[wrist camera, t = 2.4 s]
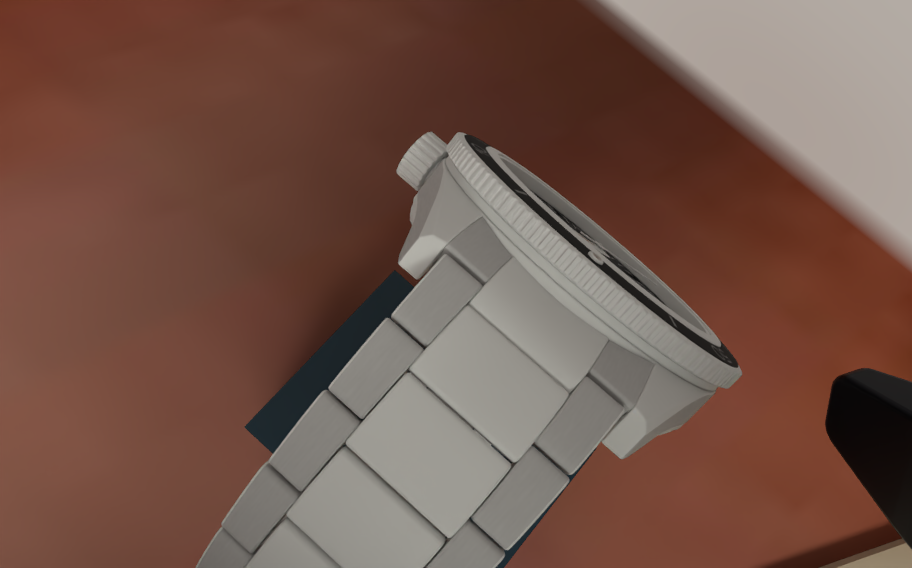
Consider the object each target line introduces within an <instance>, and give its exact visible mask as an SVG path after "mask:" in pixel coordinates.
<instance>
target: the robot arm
mask: <svg viewBox="0 0 912 568" xmlns="http://www.w3.org/2000/svg"><path fill="white" fill-rule="evenodd" d="M825 426H826V431H827V434H828V436H829V438H830V440H831V442H832V443H833V445H834V446H835V447H836V449H837V450H838V452H839V453H840V454H841V456H842V457H843V458H844V460H845V461H846V463H847V464H848V465H849V467H850V468H851V469H852V471H853V472H854V474H855V475H856V476H857V478H858V479H859V480H860V482H861V483H862V485H863V486H864V487H865V489H866V490H867V491H868V493H869V494H870V496H871V497H872V498H873V500H874V501H875V502H876V504H877V505H878V507H879V508H880V509H881V511H882V512H883V513H884V515H885V516H886V518H887V519H888V520H889V522H890V523H891V524H892V526H893V527H894V528H895V530H896V531H897V532H898V533H899V535H900V536H901V537H902V539H903V540H904V541H905V542H906V543H907V545H908V546H909V547H910V548H911V549H912V382H910V381H907V380H904V379H901V378H898V377H895V376H892V375H888V374H885V373H882V372H879V371H876V370H873V369H869V368H861V369H857V370H854V371H851V372H848V373H845V374H842V375H840V376H838V377H837V378H836V379H835V380H834V381H833V384H832V388H831V393H830V398H829V404H828V409H827V415H826V420H825Z"/></svg>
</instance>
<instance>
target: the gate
mask: <svg viewBox="0 0 912 568" xmlns="http://www.w3.org/2000/svg"><path fill="white" fill-rule="evenodd" d="M819 568H912V549H911V548H910V547H909V546H908V545H907V543H906V542H905V541H904V540H903V539H899V540H896V541H893V542H890V543H887V544H885V545H882V546H879V547H876V548H873V549H870V550H868V551H865V552H862V553H859V554H856V555H853V556H851V557H848V558H845V559H842V560H839V561H836V562H833V563H831V564H828V565H825V566H822V567H819Z"/></svg>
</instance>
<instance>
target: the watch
mask: <svg viewBox="0 0 912 568" xmlns="http://www.w3.org/2000/svg"><path fill="white" fill-rule="evenodd" d="M397 174H398V175H399V176H400V177H401V178H402V179H404V180H405V181H406V182H407V183H408V184H409V185H411V186H412V187H413V188H414V189H415V190H417V191H418V193H417V194H416V196H415V197H414V199H413V205H412V207H411V212H410V222H411V224H412V227H411V229H410V232H409V234H408V236H407V238H406V241H405V243H404V245H403V248H402V250H401V252H400V254H399V260H398V264H399V265H400V266H401V267H402V268H403V269H405V270H406V271H407V272H408V273H409V274H410V275H411V276H413V277H414V278H415V279H416V280H418V279H420V278H421V277H422V276H423V275H425V274H426V273H427V272H428V271H429V272H428V273H427V274H426V275H425V276H424V277H423V278H422V280H421V281H420V282H419V283H418V284H417V285H416V286H415V287H413V286H412V285H411V284H410V283H409V282H408V281H407V280H405V279H404V278H403V277H402V276H401V275H400V274H399V273H397V272H396V271H395V270H394V271H393V272H392V273H391V275H390V276H389V277H388V278H387V279H386V280H385V281H384V282H383V283H382V284H381V285H380V286H379V287H378V288H377V289H376V290H375V291H374V292H373V293H372V294H371V295H370V296H369V297H368V299H367V300H366V301H365V302H364V303H363V304H362V305H361V306H360V307H359V308H358V309H357V310H356V311H355V312H354V313H353V314H352V315H351V316H350V317H349V318H348V319H347V320H346V321H345V323H344V324H343V325H342V326H341V327H340V328H339V329H338V330H337V331H336V332H335V333H334V334H333V335H332V336H331V337H330V338H329V339H328V340H327V341H326V342H325V343H324V344H323V345H322V347H321V348H320V349H319V350H318V351H317V352H316V353H315V354H314V355H313V356H312V357H311V358H310V359H309V360H308V361H307V362H306V363H305V364H304V365H303V366H302V367H301V368H300V369H299V371H298V372H297V373H296V374H295V375H294V376H293V377H292V378H291V379H290V380H289V381H288V382H287V383H286V384H285V385H284V386H283V387H282V388H281V389H280V390H279V391H278V392H277V393H276V395H275V396H274V397H273V398H272V399H271V400H270V401H269V402H268V403H267V404H266V405H265V406H264V407H263V408H262V409H261V410H260V411H259V412H258V413H257V414H256V415H255V416H254V417H253V419H252V420H251V421H250V422H249V423H248V424H247V425H246V426H245V428H246V429H247V430H248V431H249V432H250V433H251V434H252V435H253V436H254V437H256V438H257V439H258V440H259V441H260V442H261V443H262V444H263V445H264V446H265V447H266V448H267V449H268V450H270V451H271V452H272V453H273V455H272V456H271V458H270V459H269V461H267V462H266V463H265V464H264V465H263V466H262V467H261V468H260V469H259V470H258V472H257V473H256V474H255V476H254V477H253V478H252V480H251V481H250V483H249V484H248V485H247V487H246V488H245V489H244V491H243V492H242V494H241V495H240V497H239V498H238V499H237V501H236V502H235V504H234V505H233V507H232V508H231V510H230V511H229V512H228V514H227V515H226V517H225V518H224V520H223V521H222V527H221V528H220V529H219V530H218V532H217V533H216V534H215V536H214V537H213V539H212V540H211V542H210V544H209V545H208V547H207V548H206V550H205V552H204V553H203V555H202V557H201V558H200V560H199V562H198V564H197V566H196V568H504V567H505V565H506V564H507V563H508V562H509V560H510V559H511V558H512V556H513V555H514V554H515V553H516V551H517V550H518V549H519V547H520V546H521V545H522V544H523V542H524V541H525V540H526V538H527V537H528V536H529V535H530V533H531V532H532V531H533V529H534V528H535V527H536V526H537V524H538V523H539V522H540V520H541V519H542V518H543V517H544V515H545V514H546V513H547V511H548V510H549V509H550V508H551V506H552V505H553V504H554V502H555V501H556V500H557V499H558V497H559V496H560V495H561V493H562V492H563V491H564V489H565V488H566V487H567V486H568V484H569V483H570V482H571V480H572V479H573V478H574V477H575V475H576V474H577V473H578V471H579V470H580V469H581V468H582V466H583V465H584V464H585V462H586V461H587V460H588V459H589V457H590V456H591V455H592V453H593V452H594V451H595V450H596V448H597V446H598V444H599V443H600V442H601V441H602V443H603V444H604V445H605V446H606V447H607V448H609V449H610V450H611V451H612V452H613V453H614V454H615V455H617V456H618V457H619V458H620V459H624V458H626V457H628V456H630V455H631V454H633V453H634V452H636V451H637V450H638V449H640V448H641V447H643V446H644V445H645V444H647V443H648V442H649V441H651V440H652V439H653V438H655V437H656V436H658V435H662V434H665V433H668V432H671V431H672V430H677V429H679V428H680V427H681V426H682V425H683V424H684V423H686V422H687V421H688V420H689V419H690V418H691V417H692V416H693V415H694V414H695V413H696V412H697V411H698V410H699V409H700V408H701V407H702V406H703V405H704V404H705V403H706V402H707V401H708V400H709V399H710V398H711V397H712V396H713V395H714V394H715V392H716V388H717V387H718V386H719V387H721V388H730V387H731V386H732V385H733V384H734V383H735V382H736V381H737V380H738V379H739V378H740V377H741V376H742V371H741V369H740V367H739V365H738V363H737V361H736V359H735V358H734V357H733V355H732V354H731V353H730V351H729V350H728V349H727V348H726V347H725V346H724V344H723V343H722V342H721V341H720V340H719V339H718V337H717V336H716V335H715V334H714V332H713V331H712V330H711V329H710V328H709V327H708V326H707V325H706V324H705V323H704V321H703V320H702V319H701V318H700V317H699V316H698V315H697V314H696V313H695V312H694V311H693V310H692V309H691V308H690V307H689V306H688V305H687V304H686V303H685V302H684V301H683V300H682V299H681V298H680V297H679V296H678V295H677V294H676V293H675V292H674V291H672V290H671V289H670V288H669V287H668V286H667V285H666V284H665V283H664V282H663V281H662V280H661V279H660V278H658V277H657V276H656V275H655V274H654V273H653V272H652V271H651V270H650V269H648V268H647V267H646V266H645V265H644V264H643V263H642V262H641V261H639V260H638V259H637V258H636V257H635V256H634V255H633V254H631V253H630V252H629V251H628V250H627V249H626V248H625V247H623V246H622V245H621V244H620V243H619V242H618V241H616V240H615V239H614V238H613V237H612V236H611V235H609V234H608V233H607V232H606V231H605V230H603V229H602V228H601V227H600V226H599V225H597V224H596V223H595V222H594V221H593V220H591V219H590V218H589V217H588V216H587V215H585V214H584V213H583V212H582V211H580V210H579V209H578V208H577V207H575V206H574V205H573V204H572V203H570V202H569V201H568V200H567V199H565V198H564V197H563V196H562V195H560V194H559V193H558V192H557V191H555V190H554V189H553V188H551V187H550V186H549V185H547V184H546V183H545V182H544V181H542V180H541V179H540V178H538V177H537V176H535V175H534V174H533V173H531V172H530V171H529V170H527V169H526V168H524V167H523V166H521V165H520V164H519V163H517V162H516V161H514V160H513V159H511V158H509V157H508V156H506V155H505V154H503V153H502V152H500V151H498V150H496V149H495V148H493V147H491V146H489V145H488V144H486V143H485V142H483V141H481V140H479V139H478V138H476V137H474V136H471V135H468V134H465V133H461V132H458V133H456V135H455V136H454V137H453V139H452V140H451V141H450V142H449V144H448V145H447V144H446V143H444V142H443V141H442V140H441V139H440V138H438V137H437V136H436V135H435V134H434V133H433V132H427V133H426V134H424V135H423V136H422V137H420V138H419V139H418V140H417V141H416V142H415V143H414V144H413V145H412V146H411V147H410V148H409V150H408V151H407V152H406V154H405V155H404V156H403V158H402V159H401V161H400V163H399V165H398V168H397Z"/></svg>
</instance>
